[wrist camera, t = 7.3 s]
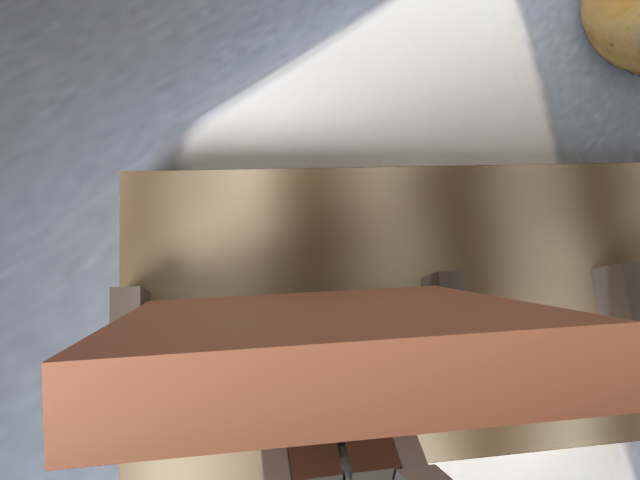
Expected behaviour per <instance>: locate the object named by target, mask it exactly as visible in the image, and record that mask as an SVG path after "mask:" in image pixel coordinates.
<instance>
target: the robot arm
mask: <svg viewBox="0 0 640 480" xmlns="http://www.w3.org/2000/svg"><path fill="white" fill-rule="evenodd" d="M258 462H259V479H260V480H453V479H452V478H450V477H449V476H448V475H447V474H446V473H445V472H443V471H442V470H441V469H440V468H439V467H437V466H436V465H428V463H427V460H426V457H425V455H424V452H423V449H422V447H421V444H420V442H419V439H418V436H417V435H409V436H399V437H389V438H379V439H368V440H358V441H348V442H338V443H327V444H317V445H307V446H297V447H286V448H276V449H266V450H258Z"/></svg>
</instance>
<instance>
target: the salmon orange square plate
mask: <svg viewBox="0 0 640 480" xmlns="http://www.w3.org/2000/svg"><path fill="white" fill-rule="evenodd" d="M42 394H43V424H44V455H45V471H51V470H61V469H71V468H82V467H92V466H102V465H112V464H123V463H133V462H143V461H153V460H164V459H174V458H184V457H194V456H205V455H215V454H225V453H235V452H245V451H256V450H266V449H276V448H286V447H297V446H307V445H317V444H327V443H338V442H348V441H358V440H368V439H379V438H389V437H399V436H409V435H420V434H430V433H440V432H450V431H460V430H471V429H481V428H491V427H501V426H512V425H522V424H532V423H542V422H553V421H563V420H573V419H583V418H594V417H604V416H614V415H624V414H635V413H640V321H634V320H629V319H623V318H617V317H612V316H606V315H600V314H594V313H589V312H583V311H577V310H572V309H566V308H560V307H555V306H549V305H543V304H538V303H532V302H526V301H520V300H515V299H509V298H503V297H498V296H492V295H486V294H481V293H475V292H469V291H463V290H458V289H452V288H446V287H441V286H419V287H400V288H381V289H363V290H344V291H325V292H306V293H287V294H268V295H249V296H231V297H212V298H193V299H174V300H155V301H145V302H144V304H143V305H141V306H139V307H138V308H136V309H134V310H133V311H131V312H129V313H127V314H126V315H124V316H122V317H120V318H119V319H117V320H115V321H113V322H112V323H110V324H108V325H107V326H105V327H103V328H101V329H100V330H98V331H96V332H94V333H93V334H91V335H89V336H87V337H86V338H84V339H82V340H80V341H79V342H77V343H75V344H74V345H72V346H70V347H68V348H67V349H65V350H63V351H61V352H60V353H58V354H56V355H54V356H53V357H51V358H49V359H48V360H46V361H44V362H42Z"/></svg>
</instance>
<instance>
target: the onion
mask: <svg viewBox="0 0 640 480" xmlns="http://www.w3.org/2000/svg"><path fill="white" fill-rule="evenodd" d="M580 7H581V10H580V17H581V22H582V25H583V27H584V30H585V33H586V34H587V37H588V39H589V40H590V44H591V45H592V46H593V47H594V50H596V51H597V52H598V53H599V55H600V56H601V57H603V58H604V59H605V60H606V61H607V62H609V63H611V64H613V65H615V66H616V67H618V68H620V69H621V70H622V71H623V70H624V69H626V70H628V71H629V72H630V73H632V74H635V75H638V76H640V0H580Z"/></svg>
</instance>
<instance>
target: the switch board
mask: <svg viewBox="0 0 640 480" xmlns="http://www.w3.org/2000/svg"><path fill="white" fill-rule="evenodd" d="M419 286H441V287H446V288H452V289H458V290H463V291H469V292H475V293H481V294H486V295H492V296H498V297H503V298H509V299H515V300H520V301H526V302H532V303H538V304H543V305H549V306H555V307H560V308H566V309H572V310H577V311H583V312H589V313H594V314H600V315H606V316H612V317H617V318H623V319H629V320H634V321H640V163H592V164H533V165H473V166H414V167H354V168H295V169H235V170H176V171H120V287H110V323H112V322H113V321H115V320H117V319H119V318H120V317H122V316H124V315H126V314H127V313H129V312H131V311H133V310H134V309H136V308H138V307H139V306H141V305H143V304H144V302H145V301H155V300H174V299H193V298H212V297H231V296H249V295H268V294H287V293H306V292H325V291H344V290H363V289H381V288H400V287H419ZM417 436H418V439H419V442H420V444H421V447H422V449H423V452H424V455H425V457H426V460H427V463H435V462H445V461H454V460H464V459H473V458H482V457H492V456H501V455H510V454H520V453H529V452H539V451H548V450H557V449H567V448H576V447H585V446H595V445H604V444H614V443H623V442H632V441H640V413H635V414H624V415H614V416H604V417H594V418H583V419H573V420H563V421H553V422H542V423H532V424H522V425H512V426H501V427H491V428H481V429H471V430H460V431H450V432H440V433H430V434H420V435H417ZM119 480H260V479H259V462H258V450H256V451H245V452H235V453H225V454H215V455H205V456H194V457H184V458H174V459H164V460H153V461H143V462H133V463H123V464H119Z"/></svg>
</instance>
